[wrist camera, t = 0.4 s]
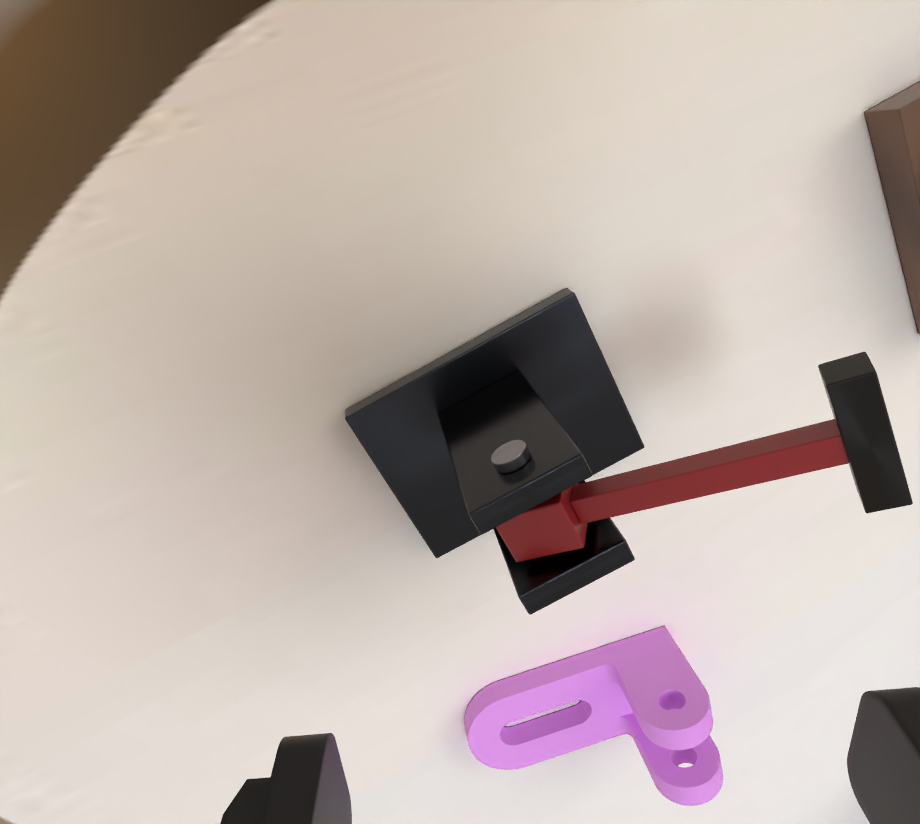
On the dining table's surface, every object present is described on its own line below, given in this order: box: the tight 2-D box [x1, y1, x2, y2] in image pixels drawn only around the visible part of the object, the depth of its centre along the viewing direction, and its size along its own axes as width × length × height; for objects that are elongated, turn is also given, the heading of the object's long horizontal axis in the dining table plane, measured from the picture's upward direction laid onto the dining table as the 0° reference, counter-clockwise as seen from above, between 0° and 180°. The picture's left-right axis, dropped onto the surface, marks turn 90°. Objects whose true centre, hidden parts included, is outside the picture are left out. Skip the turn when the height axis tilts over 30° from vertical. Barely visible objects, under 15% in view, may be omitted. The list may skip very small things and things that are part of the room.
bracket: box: [465, 626, 723, 806], centre depth 38 cm, size 13×6×7 cm, turn 106°
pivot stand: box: [345, 288, 644, 614], centre depth 29 cm, size 12×9×11 cm
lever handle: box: [496, 352, 913, 562], centre depth 24 cm, size 13×5×2 cm, turn 117°
